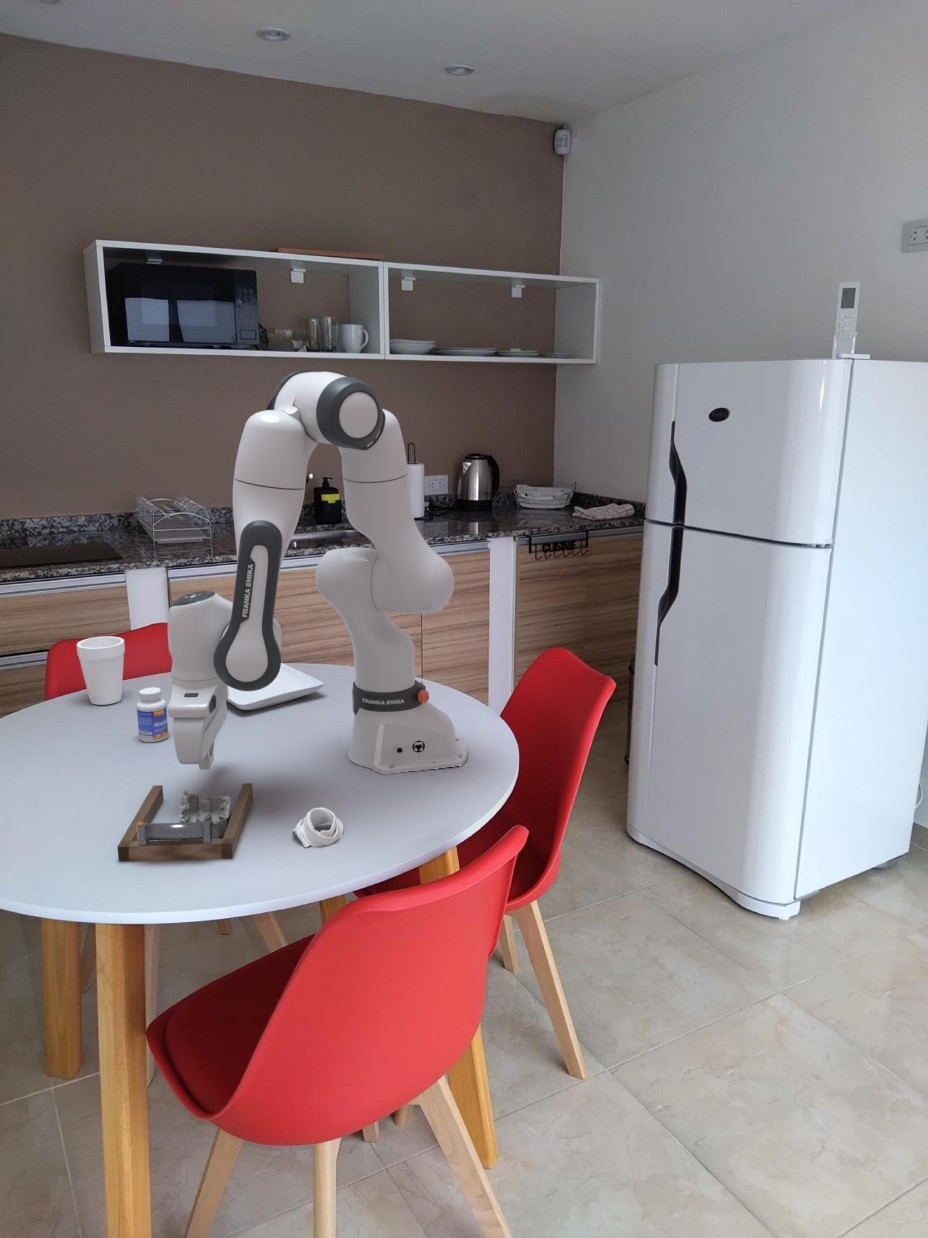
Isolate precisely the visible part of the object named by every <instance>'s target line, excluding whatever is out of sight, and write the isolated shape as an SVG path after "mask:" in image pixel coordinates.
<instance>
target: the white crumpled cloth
mask: <svg viewBox="0 0 928 1238" xmlns="http://www.w3.org/2000/svg"><path fill="white" fill-rule="evenodd" d="M328 822H329V823H330V824H331V827H330V828H329V829H328V830H325V829H322V830H320V831H319V830H316V829H315V828H317V827H319V826H321V825H323V824H325V823H328ZM291 832H292V835H293V836H297V838H298V839H299V840H300V842H301V844H302V846H303V847H304V848H308V847H310V846H311V847H313V848H318V847H322V846H329V845H332V844H334V843H335V841H338V840H339V839H342V835H343V834H344V833H343V832H344V825H343V821H342V820H340V818H338V817H336V814H335V813H334V811H332V810H331V809H328V808H326V807H316V808H315V807H314V808H312V809H310V810H309V811H308V812H307V813H306V815H305V816H304V818H302V819H300V820H299V821H298V822H297V824H296V825H295V827H294V829H293V830H292V831H291Z"/></svg>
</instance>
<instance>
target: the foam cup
mask: <svg viewBox="0 0 928 1238" xmlns="http://www.w3.org/2000/svg"><path fill="white" fill-rule="evenodd" d="M125 646H126V645H125V639H124V638H121V637H118V636H111V635H110V636H105V635H104V636H96V637H94V636H93V637H89V638H85V639H83V640H80V641H78V642H77V644H76V651H77V653H76V654H77V656H78V660H79V662H80V666H81V671H82V674H83V678H84V682H85V686H86V691H87V695H88V697H89V702H90V703H91V704H93V705H97V706H98V705H99V706H103V705H104V706H105V705H112V704H114V703H119V702H120V701H121V700H122V696H123V695H122V694H123V693H122V692H123V678H124V677H123V674H124V657H125V655H124V654H125V651H126V648H125Z"/></svg>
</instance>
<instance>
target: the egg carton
mask: <svg viewBox="0 0 928 1238" xmlns="http://www.w3.org/2000/svg"><path fill="white" fill-rule="evenodd" d="M231 802H232V801H231V796H230V795H226V796H221V795H220V794H219V795H218V796H217V797H213V796H212V795H208V796H207V798H206V799H201V800H200V797H199V794H197V793H188V791H187V790H185V789H184V791H183V792H182V798H181V802H180V806H179V811H178V815H177V817H178V823H183V822H204V821H211V829H212V839H222V838H223V837H224V834H225V832H226V829H227V826H228V821H227V820H228V818H229V816H230V808H231ZM188 840H195V839H188Z"/></svg>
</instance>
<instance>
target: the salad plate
mask: <svg viewBox="0 0 928 1238" xmlns="http://www.w3.org/2000/svg"><path fill="white" fill-rule="evenodd" d="M324 684H325V683H324V682H323V681H321V680H319V679H318V678H315V677H313V676H311V675H308V674H307V673H304V672H303V671H300V670H298V669H296V668H294V667H292V666H290V665H287V664H285V663H283V662H281V667H280V671H279V673H278V675H277V677H276V678H275V680H274V681H273V682H272V683H271V684H269V685H268V686H266V687H264V688H262V689H260V690H256V691H240V690H236V689H234V688H231V687H230V686H228V692H229V697H228V698H227V700H226V702H228V703H229V704H232V705H233V706H234V707H236V708H238V709H240V710H242V711H253V710H259V709H263V708H267V707H270V706H275V705H278V704H282V703H286V702H290V701H292V700H295V699H299V698H301V697H304V696H308V695H310V694H313V693H315V692H317V691H319V690H320V689H321V688H323V686H324Z"/></svg>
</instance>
